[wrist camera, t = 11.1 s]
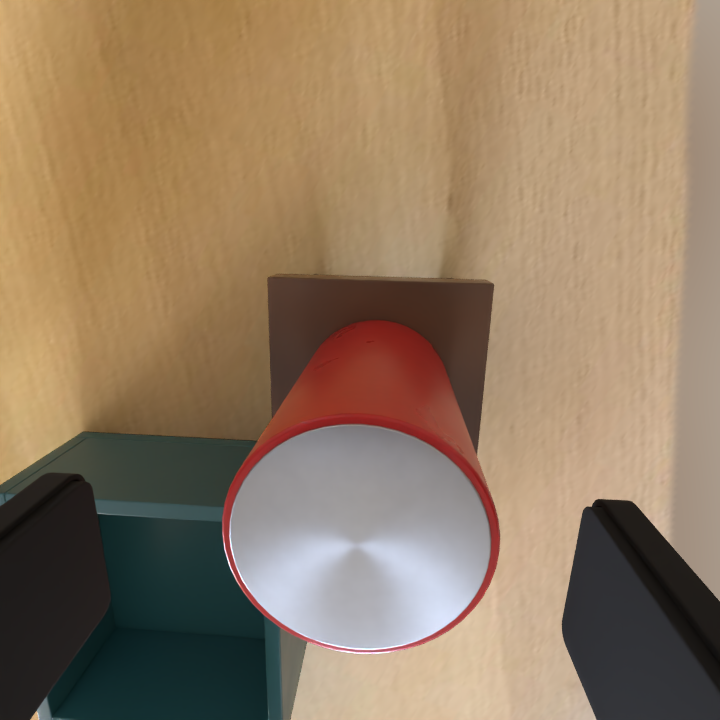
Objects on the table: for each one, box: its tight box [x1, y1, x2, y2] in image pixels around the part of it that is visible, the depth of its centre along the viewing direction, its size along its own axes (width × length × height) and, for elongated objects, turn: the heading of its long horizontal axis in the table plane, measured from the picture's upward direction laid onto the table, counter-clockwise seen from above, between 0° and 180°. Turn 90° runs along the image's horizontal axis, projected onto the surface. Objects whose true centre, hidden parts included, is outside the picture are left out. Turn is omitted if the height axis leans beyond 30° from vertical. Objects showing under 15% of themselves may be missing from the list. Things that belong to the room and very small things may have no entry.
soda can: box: [222, 320, 500, 654], centre depth 15 cm, size 6×6×10 cm
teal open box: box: [0, 432, 307, 720], centre depth 26 cm, size 15×14×7 cm
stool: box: [268, 274, 494, 455], centre depth 22 cm, size 9×9×6 cm
